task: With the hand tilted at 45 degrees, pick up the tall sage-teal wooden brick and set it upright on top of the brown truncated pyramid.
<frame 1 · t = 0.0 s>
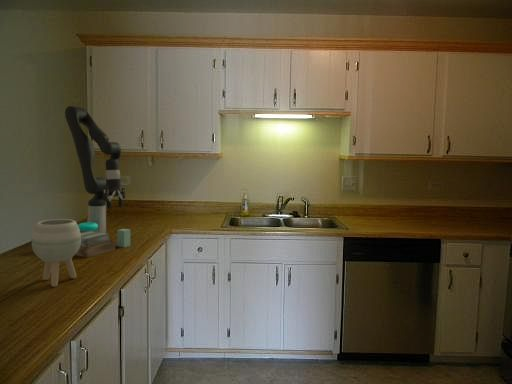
hand: (115, 207, 215), 17 cm above the worktop, tool pointing down, fingers open, 8 cm apart
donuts: (87, 242, 205), on the worktop
brown truncated pyramid: (88, 251, 187), on the worktop
brick: (123, 246, 199), on the worktop
planter: (58, 282, 143), on the worktop
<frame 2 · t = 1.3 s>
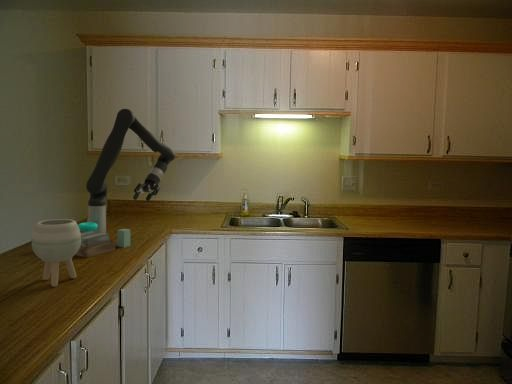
hand: (140, 199, 208), 23 cm above the worktop, tool tilted 45°, fingers open, 8 cm apart
nothing on the worktop moved.
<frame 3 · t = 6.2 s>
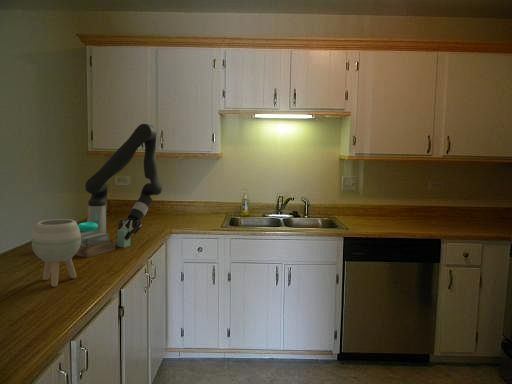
hand: (122, 238, 197), 4 cm above the worktop, tool tilted 45°, fingers closed on brick, 4 cm apart
brick: (123, 246, 199), on the worktop, touching gripper
everything else where it was.
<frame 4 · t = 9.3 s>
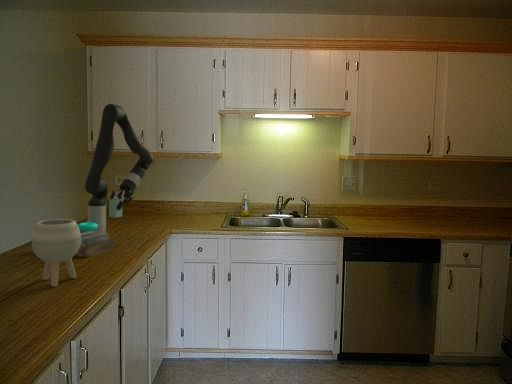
hand: (113, 208, 193), 20 cm above the worktop, tool tilted 45°, fingers closed on brick, 4 cm apart
brick: (115, 216, 195), point 16 cm above the worktop, touching gripper
everything else where it was.
when the fingers open (13 cm above the worktop, at t = 12.5 s): brick drops 1 cm, resting on brown truncated pyramid.
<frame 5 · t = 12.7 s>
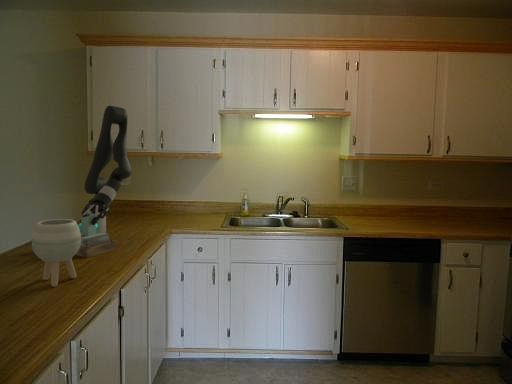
hand: (86, 223, 185), 14 cm above the worktop, tool tilted 45°, fingers open, 6 cm apart
brick: (88, 234, 187), point 8 cm above the worktop, touching brown truncated pyramid
everything else where it was.
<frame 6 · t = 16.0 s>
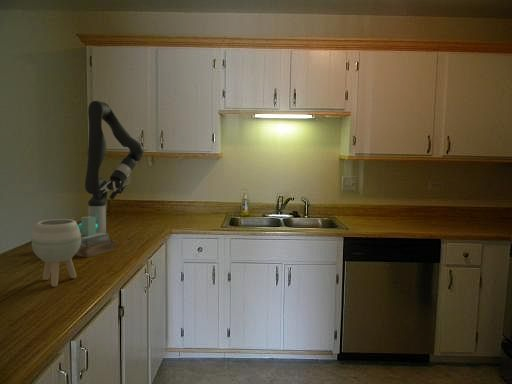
hand: (104, 197, 194), 25 cm above the worktop, tool tilted 45°, fingers open, 8 cm apart
nothing on the worktop moved.
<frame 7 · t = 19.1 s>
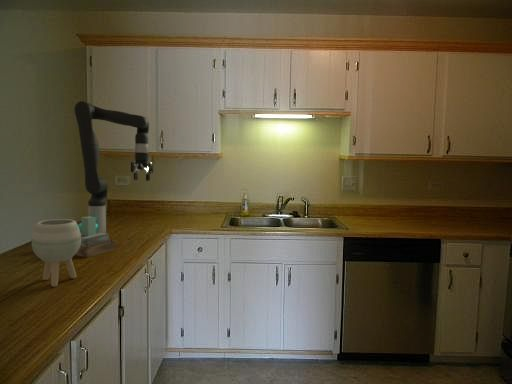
hand: (141, 180, 221), 32 cm above the worktop, tool pointing down, fingers open, 8 cm apart
nothing on the worktop moved.
at the end: brick inside the target area on the brown truncated pyramid (0.1 cm from its centre), point 8.0 cm above the brown truncated pyramid's base; brick tilted 0°; the gripper is holding nothing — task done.
